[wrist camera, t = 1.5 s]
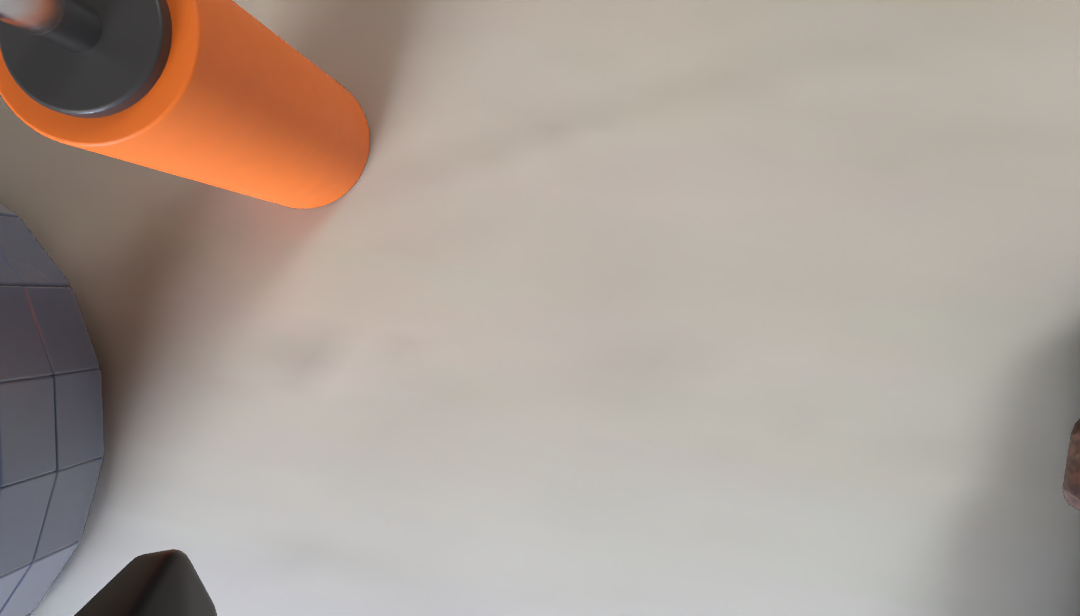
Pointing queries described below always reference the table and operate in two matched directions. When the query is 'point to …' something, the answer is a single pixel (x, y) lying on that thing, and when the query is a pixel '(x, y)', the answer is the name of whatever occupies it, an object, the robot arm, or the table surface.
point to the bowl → (42, 419)
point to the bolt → (1073, 469)
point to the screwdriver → (183, 94)
